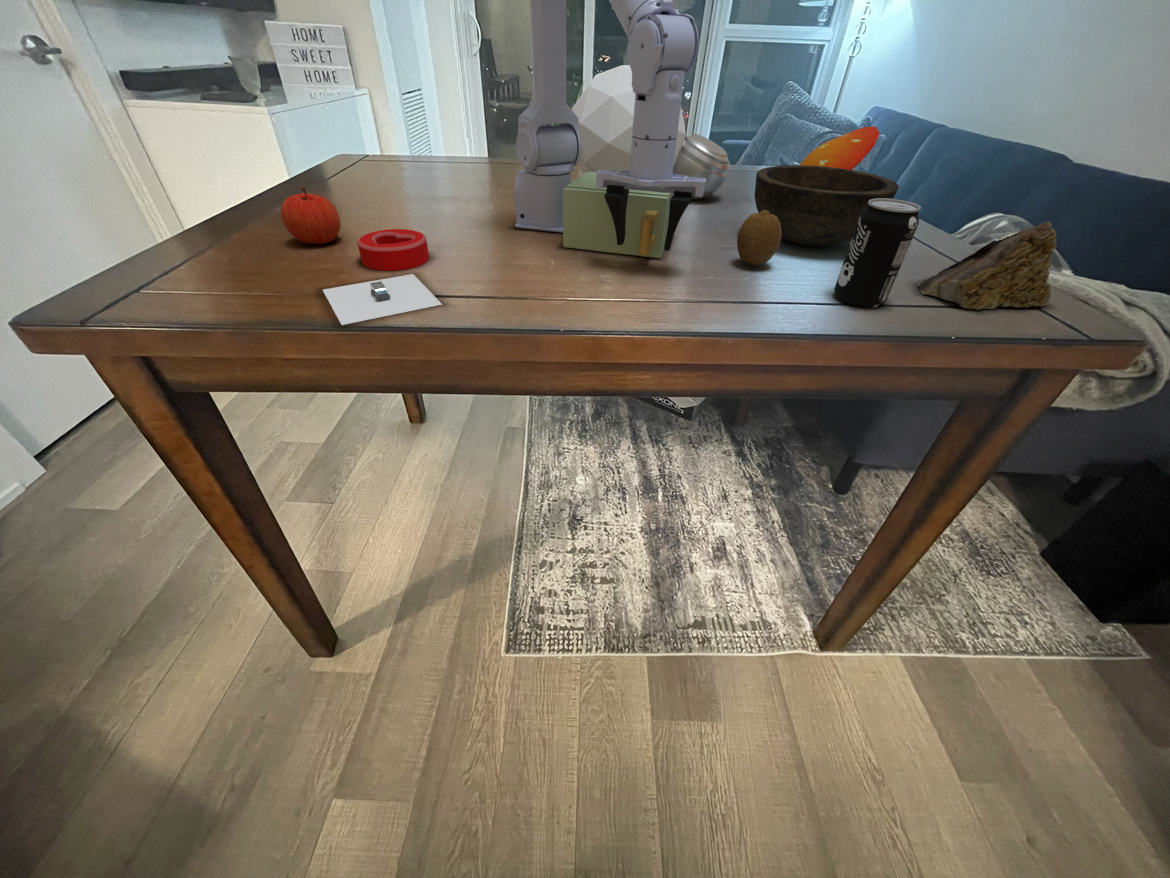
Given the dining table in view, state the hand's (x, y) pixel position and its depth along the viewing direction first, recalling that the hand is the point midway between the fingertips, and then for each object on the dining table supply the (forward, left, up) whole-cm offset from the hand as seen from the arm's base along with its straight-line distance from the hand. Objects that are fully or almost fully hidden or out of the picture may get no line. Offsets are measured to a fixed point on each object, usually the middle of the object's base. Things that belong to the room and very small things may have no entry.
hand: (643, 245), depth 72 cm
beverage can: (+30, -1, -4) cm, 30 cm away
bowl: (+25, +24, -4) cm, 34 cm away
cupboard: (-6, +13, -3) cm, 14 cm away
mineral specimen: (+47, +7, -4) cm, 48 cm away
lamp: (-7, +45, -4) cm, 46 cm away
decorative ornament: (-36, -8, -4) cm, 37 cm away
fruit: (+16, +8, -4) cm, 18 cm away
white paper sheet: (-30, -21, -4) cm, 37 cm away
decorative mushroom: (+28, +50, -4) cm, 57 cm away
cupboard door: (-6, +3, -3) cm, 7 cm away
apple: (-52, -5, -4) cm, 52 cm away
